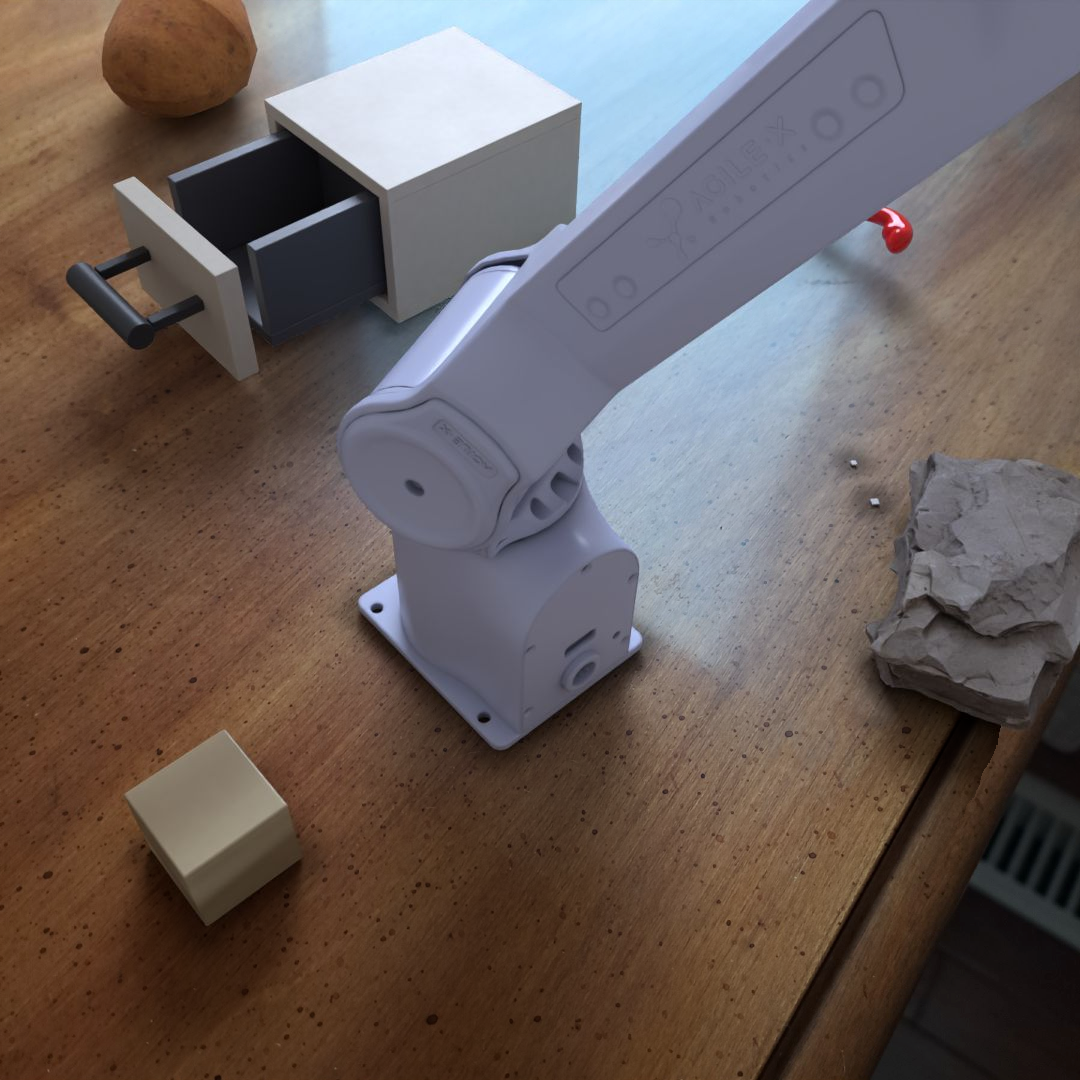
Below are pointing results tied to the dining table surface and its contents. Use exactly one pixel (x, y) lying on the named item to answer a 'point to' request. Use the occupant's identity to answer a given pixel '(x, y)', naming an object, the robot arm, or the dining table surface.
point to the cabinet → (443, 156)
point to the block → (215, 825)
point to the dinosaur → (893, 229)
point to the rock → (984, 587)
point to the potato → (178, 54)
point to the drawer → (243, 251)
